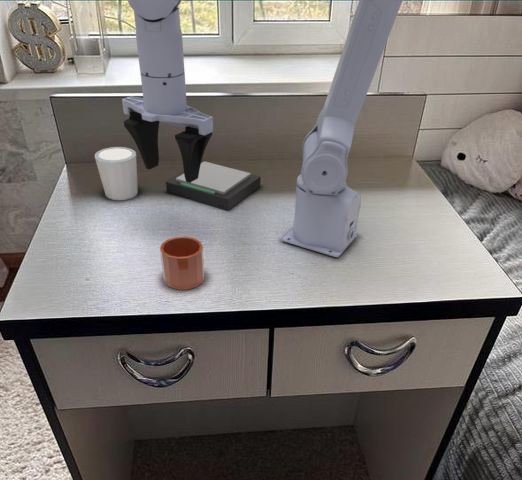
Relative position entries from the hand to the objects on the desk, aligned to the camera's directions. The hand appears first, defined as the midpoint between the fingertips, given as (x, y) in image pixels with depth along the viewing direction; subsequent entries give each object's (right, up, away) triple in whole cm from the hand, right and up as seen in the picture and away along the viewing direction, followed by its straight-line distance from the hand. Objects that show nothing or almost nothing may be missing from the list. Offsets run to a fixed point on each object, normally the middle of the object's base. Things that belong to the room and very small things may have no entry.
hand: (171, 173), depth 77 cm
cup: (+2, -16, -4) cm, 17 cm away
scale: (+5, +3, +17) cm, 18 cm away
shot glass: (-12, +2, +16) cm, 19 cm away
